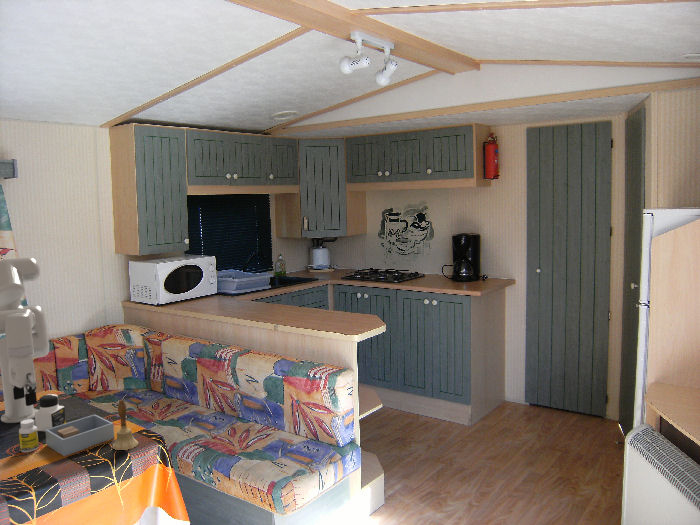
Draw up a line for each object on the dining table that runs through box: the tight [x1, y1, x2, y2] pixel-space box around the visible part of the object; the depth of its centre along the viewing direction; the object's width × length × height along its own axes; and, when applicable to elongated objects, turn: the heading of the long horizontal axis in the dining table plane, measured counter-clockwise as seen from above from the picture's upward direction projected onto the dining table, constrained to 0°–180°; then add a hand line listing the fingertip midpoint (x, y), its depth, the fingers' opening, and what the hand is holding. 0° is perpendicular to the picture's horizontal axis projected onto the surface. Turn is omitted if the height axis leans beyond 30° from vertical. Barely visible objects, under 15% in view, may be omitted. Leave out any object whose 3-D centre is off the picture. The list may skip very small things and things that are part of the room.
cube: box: [57, 426, 79, 439], centre depth 200 cm, size 5×5×5 cm
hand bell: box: [111, 399, 139, 451], centre depth 199 cm, size 8×8×16 cm
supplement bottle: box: [18, 418, 39, 453], centre depth 198 cm, size 5×5×10 cm
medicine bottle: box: [34, 393, 67, 432], centre depth 215 cm, size 7×7×12 cm
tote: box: [44, 413, 115, 457], centre depth 203 cm, size 13×17×6 cm
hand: (25, 401), depth 196 cm, fingers open, 9 cm apart
